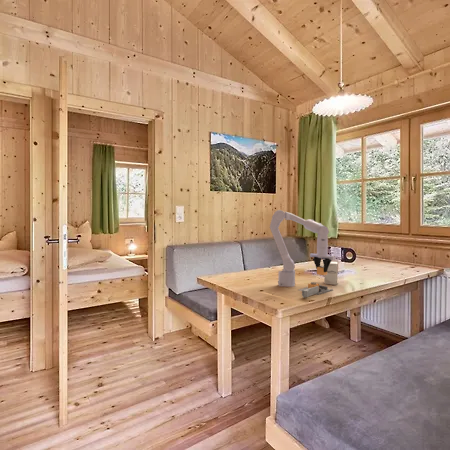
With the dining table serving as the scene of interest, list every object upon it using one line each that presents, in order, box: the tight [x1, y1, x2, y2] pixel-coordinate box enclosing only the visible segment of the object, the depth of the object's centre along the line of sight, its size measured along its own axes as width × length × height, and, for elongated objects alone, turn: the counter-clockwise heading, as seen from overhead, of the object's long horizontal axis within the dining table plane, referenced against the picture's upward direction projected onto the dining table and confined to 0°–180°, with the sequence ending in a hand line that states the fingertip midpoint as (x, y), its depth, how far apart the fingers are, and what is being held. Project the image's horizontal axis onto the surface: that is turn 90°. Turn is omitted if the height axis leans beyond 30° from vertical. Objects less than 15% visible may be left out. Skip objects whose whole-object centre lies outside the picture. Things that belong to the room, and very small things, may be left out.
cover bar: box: [301, 286, 319, 298], centre depth 156 cm, size 13×3×4 cm, turn 130°
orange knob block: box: [316, 265, 327, 276], centre depth 175 cm, size 4×4×5 cm
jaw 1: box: [307, 282, 320, 289], centre depth 164 cm, size 4×4×5 cm
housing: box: [298, 284, 334, 296], centre depth 167 cm, size 14×13×2 cm
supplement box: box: [323, 261, 339, 286], centre depth 186 cm, size 7×7×13 cm
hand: (321, 271), depth 175 cm, fingers closed on orange knob block, 4 cm apart
